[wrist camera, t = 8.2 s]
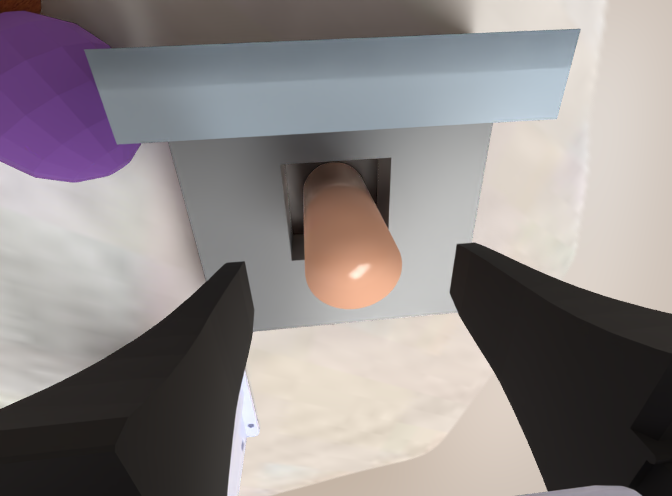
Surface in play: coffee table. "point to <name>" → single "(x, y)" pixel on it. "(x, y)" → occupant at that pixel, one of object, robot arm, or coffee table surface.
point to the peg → (346, 240)
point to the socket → (332, 144)
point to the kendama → (52, 99)
